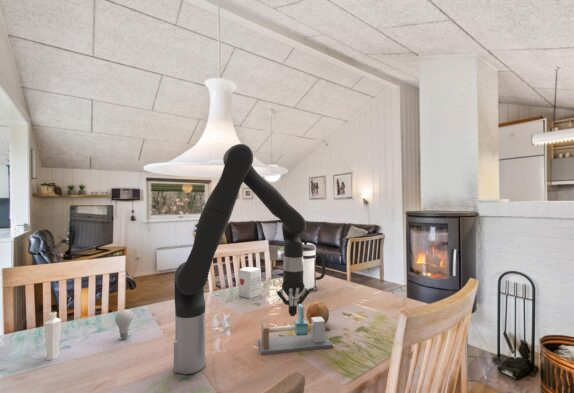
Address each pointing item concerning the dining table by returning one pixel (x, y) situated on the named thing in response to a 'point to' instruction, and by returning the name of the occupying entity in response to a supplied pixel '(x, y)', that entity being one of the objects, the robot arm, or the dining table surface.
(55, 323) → the perfume bottle
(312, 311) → the onion
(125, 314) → the lightbulb
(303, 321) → the light blue bracket block
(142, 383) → the dining table surface
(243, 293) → the supplement box
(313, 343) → the grey rod holder stand
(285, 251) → the robot arm
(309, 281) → the coffee press
